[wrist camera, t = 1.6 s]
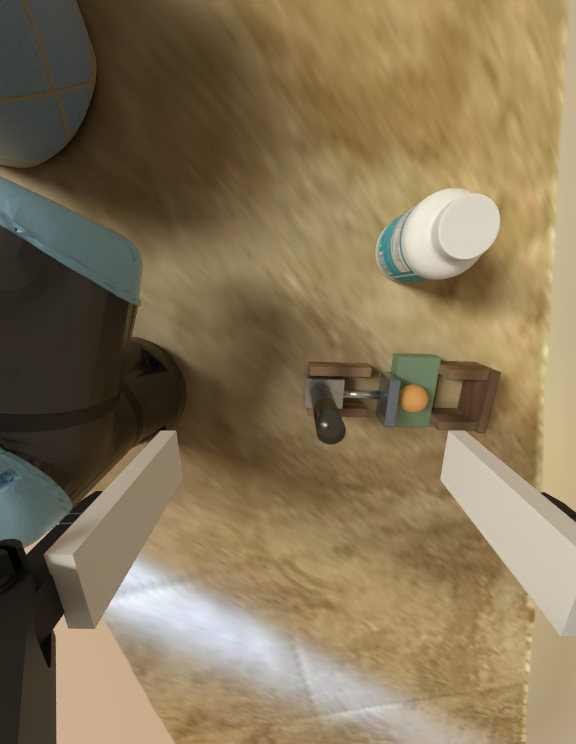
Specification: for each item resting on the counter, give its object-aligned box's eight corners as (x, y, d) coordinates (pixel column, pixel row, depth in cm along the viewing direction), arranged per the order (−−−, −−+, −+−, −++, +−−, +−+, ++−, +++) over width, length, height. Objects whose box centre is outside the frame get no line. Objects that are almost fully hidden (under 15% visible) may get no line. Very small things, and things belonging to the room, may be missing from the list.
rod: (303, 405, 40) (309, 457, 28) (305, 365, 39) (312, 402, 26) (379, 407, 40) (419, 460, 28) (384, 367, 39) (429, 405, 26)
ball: (392, 405, 38) (402, 416, 35) (395, 380, 37) (406, 389, 34) (418, 405, 38) (431, 417, 35) (422, 381, 37) (436, 390, 34)
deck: (384, 419, 41) (389, 426, 39) (393, 353, 38) (398, 357, 36) (421, 420, 41) (428, 427, 39) (433, 354, 38) (441, 358, 36)
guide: (306, 408, 41) (307, 415, 38) (309, 362, 39) (310, 366, 36) (361, 409, 41) (366, 417, 38) (366, 363, 39) (371, 368, 36)
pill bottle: (446, 237, 34) (541, 205, 21) (410, 292, 36) (478, 295, 23) (394, 204, 33) (461, 150, 20) (361, 263, 35) (402, 249, 22)
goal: (422, 415, 41) (440, 432, 36) (432, 360, 38) (452, 371, 34) (462, 416, 41) (485, 433, 36) (474, 361, 38) (500, 372, 34)
